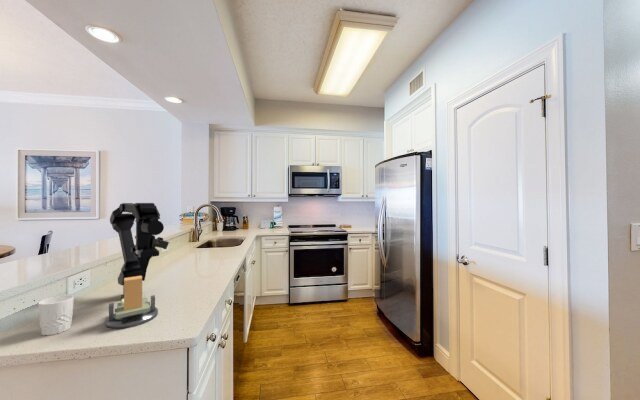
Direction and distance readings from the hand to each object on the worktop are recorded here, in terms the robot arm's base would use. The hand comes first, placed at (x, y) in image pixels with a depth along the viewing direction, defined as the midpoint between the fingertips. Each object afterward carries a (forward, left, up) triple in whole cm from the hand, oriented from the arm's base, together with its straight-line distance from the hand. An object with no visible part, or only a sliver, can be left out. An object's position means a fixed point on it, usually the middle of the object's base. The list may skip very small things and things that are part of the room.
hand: (144, 271), depth 102 cm
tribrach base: (+13, -6, -13) cm, 19 cm away
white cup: (+5, -25, -13) cm, 28 cm away
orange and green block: (+13, -6, -9) cm, 17 cm away
